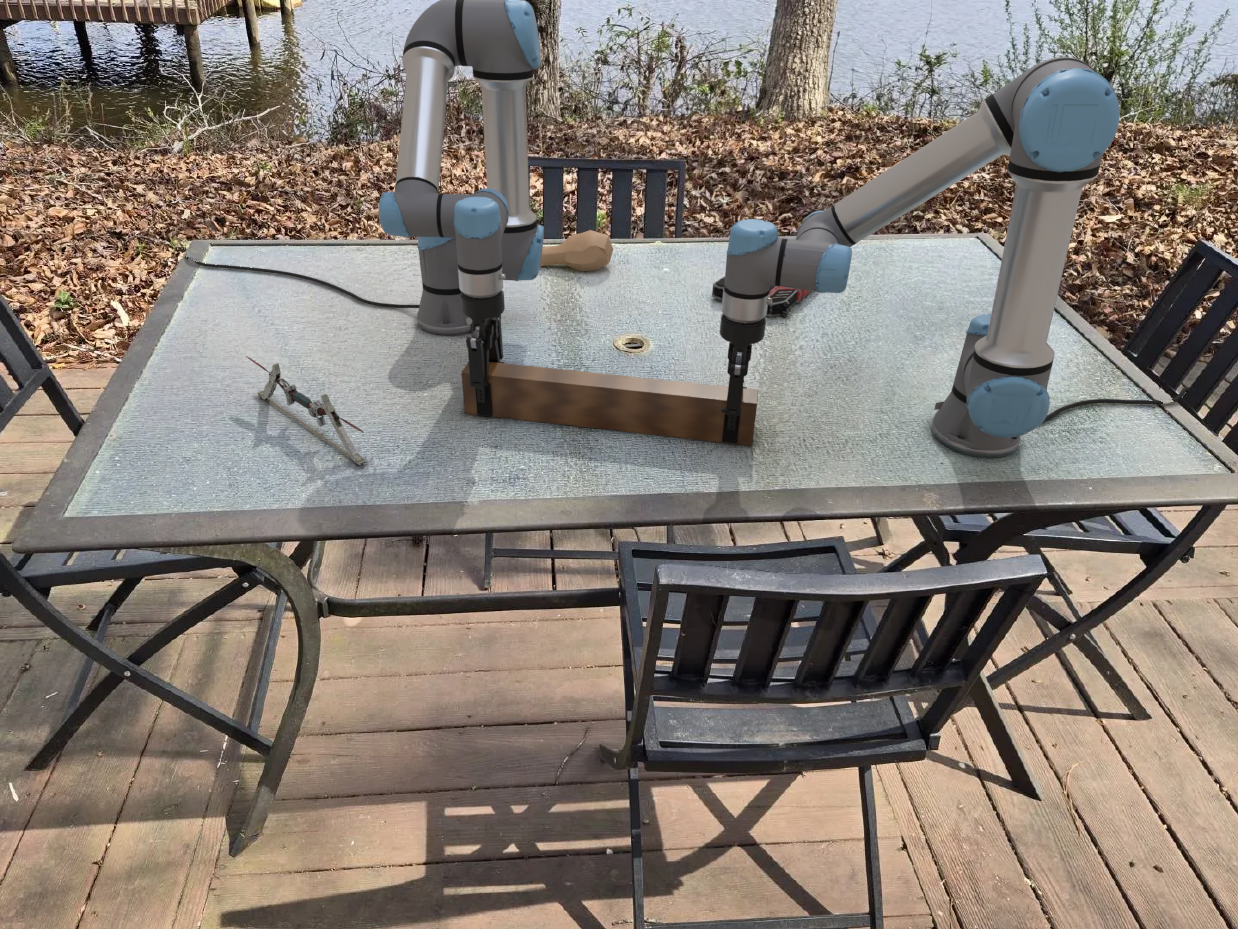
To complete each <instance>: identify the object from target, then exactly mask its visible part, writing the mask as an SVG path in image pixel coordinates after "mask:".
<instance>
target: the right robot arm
mask: <svg viewBox="0 0 1238 929" xmlns="http://www.w3.org/2000/svg"><path fill="white" fill-rule="evenodd" d="M1120 112H1121V111H1120V104H1119V101H1118V95H1117V94H1116V91H1115V88H1113V86H1112V85H1111V83H1110V82H1109V81H1108V80H1107V78H1105V77H1103V76H1102V75H1101V74H1100V73H1098V72H1097V71H1095V70H1094V69H1093V67H1092V66H1090V65H1089V64H1088V63H1086V62H1085V61H1083V60H1081V59H1078V58H1076V57H1072V56H1071V57H1069V56H1059V57H1053V58H1049V59H1046V60H1042V61H1041V62H1039V63H1036V64H1034V65H1033V66H1031V67H1030V68H1028V69H1027V70H1025V71H1024V72H1022V73H1021V74H1019V75H1018V76H1016V77H1015V78H1014V79H1012V80H1010V82H1008V83H1007V84H1005V85H1004V86H1002V87H1000V88H999V89H998V90H996V91H995V92H994V93H992V94H990V95H989V96H987V97H986V98H985V99H983V100H982V101H981V104H980V107H979V109H978V111H977V112H975V113H973V114H972V115H971V116H969V117H967V118H966V119H964V120H963V121H961V122H959V123H958V124H957V125H955V126H953V127H952V128H950V129H949V130H947V131H945V132H944V133H943V134H941V135H939V136H938V137H936V138H935V139H933V140H932V141H930V142H929V143H927V144H926V145H923V147H920V148H919V149H918V150H916V151H915V152H913V153H911V154H910V155H909V156H907V157H905V158H904V159H902V160H900V161H899V162H897V163H896V164H895V165H893V166H891V167H890V168H889V169H887V170H885V171H883V172H882V173H880V174H879V175H877V176H876V177H874V178H872V179H871V180H870V181H868V182H867V183H865V184H864V185H862V186H860V187H859V188H857V189H856V190H854V191H852V192H851V193H849V194H848V195H846V196H844V197H843V198H842V199H839V201H837V202H836V203H834V204H833V205H830V206H829V207H828V208H826V209H825V210H817V211H814V212H811V213H809V214H808V215H807V216H806V217H805V218H804V219H803V221H802V222H801V224H799V227H798V229H797V233H796V238H795V239H788V238H783V237H779V234H778V227H777V225H776V224H775V223H772V222H771V221H765V220H763V219H758V218H748V219H742V220H739V221H737V222H735V223H734V224H733V225H732V226H731V228H730V231H729V239H728V245H727V250H726V258H725V260H726V261H725V262H726V263H725V270H724V271H725V274H724V276H725V285H724V289H723V299H722V300H721V316H720V322H719V323H720V326H719V334H720V337H721V338H722V339H723V340H725V341H726V342H729V343H728V350H727V360H728V363H727V374H728V375H729V378H728V396H727V405H726V408H722V412H725V417H724V427H723V436H722V442H721V443H723V442H725V443H724V444H732V443H733V444H734V445H738V444H737V440H738V431H739V423H740V414H741V409H740V408H741V399H742V391H743V388H747V389H748V387H747V386H744V383H745V377H746V376H747V375H748V373H749V372H748V371H749V365H750V364H749V363H750V361H751V359H752V353H753V352H752V351H753V350H752V349H753V345H755V344H758V343H760V342H761V341H763V339H764V337H765V333H766V325H767V318H766V317H767V316H766V314H767V307H768V305H767V304H771V303H772V298H768V297H769V293H770V286H771V285H772V286H779V287H787V288H795V289H802V290H810V292H818V293H820V294H824V293H826V294H828V293H829V294H841V293H843V292H844V291H845V290H846V289H847V285H848V281H849V275H850V269H851V264H852V263H851V262H852V259H853V258H852V257H853V250H852V247H853V246H855V245H857V244H859V242H861V241H862V240H864V239H866V238H868V237H869V236H871V235H872V234H874V233H876V232H877V231H879V230H880V229H882V228H884V227H885V226H887V225H889V224H891V223H892V222H894V221H895V220H898V219H899V218H901V217H902V216H904V215H905V214H907V213H909V212H911V211H912V210H914V209H916V208H917V207H919V206H920V205H922V204H923V203H926V202H927V201H928V200H931V199H932V198H934V197H935V196H937V195H938V194H941V193H942V192H944V191H946V190H947V189H948V188H950V187H951V186H954V185H955V184H957V183H959V182H960V181H962V180H964V179H965V178H967V177H968V176H970V175H971V174H974V173H975V172H977V171H979V170H980V169H982V168H984V167H985V166H987V165H988V164H990V163H992V162H994V161H995V160H996V159H998V158H1000V157H1002V156H1009V159H1008V165H1007V170H1006V171H1007V173H1008V174H1009V176H1010V177H1011V178H1012V179H1013V180H1014V182H1015V188H1014V194H1013V199H1012V204H1011V209H1010V214H1009V219H1008V224H1007V230H1006V237H1005V240H1004V245H1003V250H1002V255H1001V256H1002V257H1001V261H1000V266H999V271H998V277H997V282H996V289H995V293H994V298H993V303H992V309H991V313H985V314H980V315H976V316H975V317H973V318H972V319H971V321H970V322H969V325H968V328H967V330H966V331H965V339H964V342H963V347H962V351H961V354H960V357H959V362H958V364H957V369H956V372H955V376H954V380H953V384H952V388H951V391H950V393H948V395H947V397H946V398H945V400H944V401H938V402H935V405H934V411H936V413H935V414H934V416H933V417H932V418H933V419H932V422H931V425H930V430H931V434H932V435H933V436H934V438H935V439H936V440H937V441H938V442H939V443H941V444H942V445H943V446H945V447H947V448H949V450H950V449H951V450H953V451H955V452H957V453H961V454H963V455H967V456H971V457H976V458H986V459H992V458H993V459H995V458H1003V457H1006V456H1009V455H1011V454H1013V453H1014V452H1015V451H1016V450H1017V449H1018V446H1019V444H1020V440H1021V436H1024V435H1027V433H1030V432H1031V431H1034V430H1036V429H1037V428H1039V427H1040V426H1041V425H1042V424H1043V422H1046V421H1048V420H1051V419H1052V418H1053V417H1056V416H1057V415H1059V414H1061V413H1063V412H1065V411H1068V410H1071V409H1074V408H1076V407H1082V406H1087V405H1093V404H1117V405H1118V404H1119V405H1164V404H1163V402H1161V401H1159V400H1160V399H1157V400H1156V399H1155V400H1156V401H1149V400H1150V399H1119V398H1095V399H1086V400H1085V399H1084V400H1081V401H1076V402H1072V403H1069V404H1066V405H1063V406H1061V407H1059V408H1057V409H1055V410H1054V411H1052V412H1051V413H1049V411H1050V404H1051V401H1050V399H1051V397H1050V394H1049V392H1048V385H1049V381H1050V377H1051V373H1052V369H1053V363H1054V360H1055V351H1054V349H1053V348H1052V346H1051V345H1050V344H1049V343H1048V338H1049V334H1050V329H1051V325H1052V321H1053V316H1054V313H1055V308H1056V303H1057V299H1058V295H1059V291H1060V286H1061V283H1062V277H1063V274H1064V269H1065V265H1066V260H1067V257H1068V252H1069V248H1070V244H1071V239H1072V235H1073V230H1074V226H1075V222H1076V218H1077V214H1078V208H1079V204H1080V200H1081V197H1082V191H1083V188H1084V187H1085V186H1086V185H1088V184H1090V183H1091V182H1093V181H1094V180H1095V179H1097V177H1098V176H1099V173H1100V168H1101V164H1102V161H1103V156H1104V153H1105V152H1106V151H1107V150H1108V149H1109V148H1110V146H1111V144H1112V143H1113V141H1114V140H1115V137H1116V135H1117V132H1118V129H1119V125H1120V117H1121V116H1120V115H1121V113H1120ZM1186 393H1190V389H1189V387H1188V386H1184V387H1183V388H1181V390H1180V392H1179V393H1178V394H1176V396H1175V397H1173V398H1171V399H1172V400H1173V401H1174V403H1176V402H1179V401H1180V400H1181V399H1182V398H1183V397H1184V395H1185V394H1186ZM733 444H732V445H733Z"/></svg>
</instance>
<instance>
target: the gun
mask: <svg viewBox="0 0 1238 929" xmlns="http://www.w3.org/2000/svg"><path fill="white" fill-rule="evenodd" d="M724 285H725V275H724V276H722V277H720V279H717V281H715V282H713V283H712V291H711V297H713V298H714V299H716V300H719V301H722V299H723V289H724ZM810 293H811V291H810V290H802V289H795V288H787V287H779V286H772V285H771V286H770V293H769V297H768V298H772V303H771V304H767V305H768V307H767V314H766V316H765V317H770V318H771V317H777V316H780V317H784V318H787V317H788V315H789V311H788V310H790V309H791V308H792V307H793V306H794V305H795V304H798V303H799V302H801V301H802V300H803V299H804V298H805V297H807V296H808V295H809V294H810Z"/></svg>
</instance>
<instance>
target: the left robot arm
mask: <svg viewBox="0 0 1238 929" xmlns="http://www.w3.org/2000/svg"><path fill="white" fill-rule="evenodd" d="M541 62H542V58H541V44H540V37H539V30H538V24H537V19H536V14H535V11H534V7H533V6H532V5H531V3H529V1H527V0H437V1H436V2H434V3H432V4H431V5H430V6H429V7H426V9H425V10H424V11H423V12H422V13H421V14H420V15H419V16H418V18H417V19H416V20H415V22H413V25H412V26H411V28H410V30H409V32H408V33H407V36H406V39H405V42H404V46H403V50H402V67H403V69H404V72H406V79H405V86H404V96H403V107H402V117H401V126H400V135H399V136H400V137H399V146H398V156H397V163H396V164H397V165H396V174H395V186H394V187H395V188H394V191H392V190H391V191H386V192H383V193H382V194H381V196H380V199H379V202H378V217H379V218H378V219H379V223H380V226H381V229H382V230H383V232H384V233H385V234H386V235H388V236H393V237H400V238H407V239H408V238H409V239H410V238H417V247H416V248H417V250H418V258H419V259H418V260H419V267H420V275H421V276H420V278H421V284H422V292H421V297H420V302H419V304H397V303H385V302H377V301H372V300H368V299H365V298H362V297H360V296H358V295H357V294H355V293H353V292H351V291H349V290H346V289H344V288H343V287H340V286H338V285H335V284H332V283H330V282H327V281H324V280H322V279H318V278H315V277H312V276H307V275H304V274H299V273H295V272H289V271H284V270H277V269H270V268H263V267H262V268H260V267H254V266H253V267H252V268H250V267H251V266H241V267H240V265H231V264H217V265H215V263H207V262H202V261H199V262H196V261H195V262H194V263H195V264H196V265H199V266H200V267H201V266H202V267H207V268H215V269H216V268H217V269H218V268H219V269H230V270H241V271H249V272H250V271H251V272H259V273H260V272H261V273H269V274H276V275H282V276H288V277H294V278H299V279H303V280H307V281H311V282H314V283H317V284H320V285H323V286H326V287H328V288H331V289H333V290H336V291H339V293H340V292H341V293H343V294H345V295H347V296H349V297H352V298H353V299H355V300H357V301H358V302H361V303H363V304H367V305H370V306H375V307H381V308H393V309H418V310H417V315H416V318H417V325H418V326H419V328H420V329H421V330H423V331H424V332H427V333H430V334H433V335H440V336H459V335H465V334H469V333H470V334H471V336H466V338H465V344H466V347H467V355H468V356H467V357H468V358H467V359H468V362H469V373H470V386H471V387H475V391H476V404H477V415H476V416H482V415H483V417H491V416H492V415H493V414H492V398H491V384H490V383H489V382H488V381H489V362H496V363H505V361H502V360H503V359H504V350H503V332H502V315H503V313H504V312H505V309H506V308H505V292H504V290H503V288H504V281H512V282H513V281H515V282H519V281H520V282H521V281H533V280H535V279H536V278H537V277H538V275H539V273H540V268H541V266H540V263H541V256H542V248H543V247H544V238H545V227H544V226H543V225H541V224H538V216H537V215H536V214H535V213H534V212H533V211H532V210H531V209H530V188H529V187H530V182H529V181H530V180H529V154H528V153H529V152H528V151H529V149H528V148H529V147H528V121H527V120H528V119H527V118H528V117H527V116H528V115H527V114H528V113H527V86H528V85H529V84H530V82H531V81H532V80H533V79H534V70H537V69H539V68H541ZM459 66H461V67H471V68H472V79H474V80H475V81H476V82H477V83H478V84H479V85H480V87H481V102H482V121H483V139H484V140H483V141H484V155H485V156H484V157H485V176H486V188H481V189H479V190H477V191H475V192H474V193H472V194H467V193H439V188H440V178H441V168H442V167H441V166H442V156H443V145H444V133H445V124H446V123H445V122H446V121H445V120H446V110H447V100H448V99H447V98H448V90H449V89H448V88H449V81H450V80H452V78H453V77H454V75H455V70H456V67H459ZM185 258H186V255H185V256H184V259H185ZM189 258H190V257H188V259H189ZM205 263H206V264H205ZM229 265H230V266H229Z"/></svg>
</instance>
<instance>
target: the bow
mask: <svg viewBox="0 0 1238 929" xmlns="http://www.w3.org/2000/svg"><path fill="white" fill-rule="evenodd" d="M245 357H246V358H247V359H248V360H250V361H251V362H253V364H255V365H256V366H257V367H259V368H261V369H262V370H263V371H265V372H267V373H268V381H267V382H266V384H265V386H264V387H263V388H264V389H263V390H261V391H258V392H257V397H259V398H260V399H262V400H267V401H269V402H270V403H271V404H272V405H275V406H276V407H277V408H278V409H280V410H282V411H283V412H285V413H286V414H287V415H289V416H290V417H292V418H293V419H295V420H296V421H298V422H299V423H301V424H302V425H304V426H305V427H306V428H308V429H310V430H311V431H312V432H314V433H315V434H317V435H318V436H319V437H321V438H323V439H324V440H325V441H327V442H329V443H330V444H332V445H333V446H334V447H335V448H337V449H339V450H340V451H342V452H343V453H344V454H346V455H347V456H348V457H350V459H351V460H352V461H353V462H354V464H356V465H359V466H362V464H365V463H367V461H366V460H365V458H364V457H362V456H361V455H360V453H359V452H358V451H357V449H356V447H355V445H354V443H353V441H352V440H351V438H350V436H349V434H348V432H347V430H346V429H345V427H344V425H343V423H346V424H347V425H348V426H350V427H352V428H353V429H355V430H357V431H358V432H360V433H362V434H364V433H365V431H364V430H362V429H361V428H360V427H358V426H356V425H355V424H353V423H351V422H350V421H348V420H346V419H344V418H342V417H340V415H339V414H338V412H337V411H336V408H335V407H334V405H333V403H332V402H331V399H330V398H329V395H328V394H327V393H324V394H321V395H320V399H321V401H320V399H317V400H315V401H312V400H311V398H309V397H308V396H307V395H305V394H304V393H302V392H300V391H298V390H297V386H296V384H291V385H290V383H289V382H288V381H287V380H286V379H284V378H282V376H281V375H282V372H281V367H280V363H278V362H277V363H274V364H272V365H271V366H272V367H271V368H272V369H271V371H269V370H268V369H266V368H265V367H264V366H263V365H262V364H260V363H259V362H257V361H256V360H254V359H252V358H251V357H249V356H248V355H245ZM277 385H279V387H280V388H281V389H282V391H283V393H284V395H285V402H286V405H287V406H289V407H290V406H292V405H295V404H296V403H298V404H299V405H300V406H301V407H303V408H305V409H307V410H308V414H309V415H310V416H311V417H312V418H313V419H314V418H315V419H316V422H317V426H318V427H320V428H321V427H323V426H327V423H326V418H325V417H324V416H327V417H328V419H329V421H330V423H331V425H332V428H334V431H335V433H336V434H337V437H338V438H339V440H340V442H341V443H342V444H343V448H344V449H343V448H341V447H339V446H338V445H336V444H335V443H334V442H332V441H330V439H328V438H326V437H325V436H323V435H322V434H320V433H319V432H318V431H316V430H314V429H313V428H312V427H310V426H309V425H307V424H306V423H304V422H303V421H301V420H300V419H298V418H297V417H295V416H294V415H293V414H291V413H290V412H288V411H287V410H285V409H284V408H283V407H281V406H279V405H278V404H276V402H273V401H272V400H270V398H271V397H272V396H273V395H274V393H275V391H276V390H277ZM342 422H343V423H342Z"/></svg>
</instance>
